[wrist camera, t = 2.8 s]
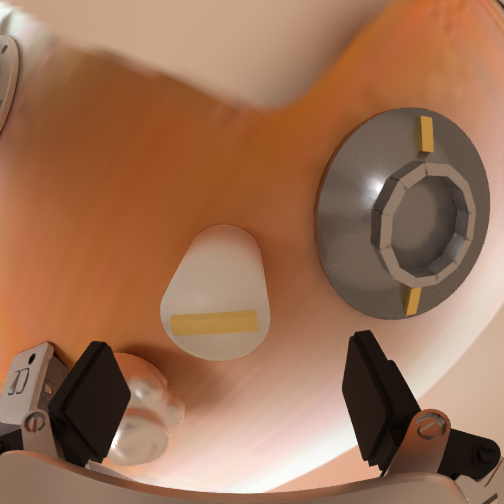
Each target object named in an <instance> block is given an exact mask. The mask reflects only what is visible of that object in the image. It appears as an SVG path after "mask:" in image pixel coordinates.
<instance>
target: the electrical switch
mask: <svg viewBox="0 0 504 504" xmlns="http://www.w3.org/2000/svg"><path fill="white" fill-rule="evenodd" d="M53 352H54V346H52V345H51V344H49V343H48V342H46V343H43V344H41V345H38V346H36V347H33V348H31V349H29V350H26V351H24V352H21V353H19V354H17V355H15V357H14V359H13V361H12V364H11V367H10V369H9V372H8V375H7V379H6V382H5V385H4V388H3V392H2V395H1V399H0V421H1V422H2V423H9V424H17V425H19V426H20V427H21V423H22V420H23V418H24V416H25V415H26V414H27V413H28V412H30V411H32V410H35V409H42V410H44V411H45V412H46V413H47V414H48V412H49V410H48V408H47V406H48V404H49V403H50V401H51V400H52V398H53V397H54V395H55V394H56V392H57V391H58V389H59V387H60V386H61V384H62V383H63V382H64V380H65V379H66V377H67V373H68V369H69V368H68V367H67V366H65V365H64V364H63V363H61V362H60V361H59V360H58V358H56V357H55V356H54V355H53ZM51 383H53V384H54V385H53V384H51ZM50 387H51V394H50V393H49V390H50ZM48 398H49V399H48Z"/></svg>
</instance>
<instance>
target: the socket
mask: <svg viewBox="0 0 504 504" xmlns="http://www.w3.org/2000/svg"><path fill="white" fill-rule="evenodd" d="M489 214H490V193H489V185H488V180H487V176H486V172H485V169H484V166H483V163H482V160H481V158H480V156H479V154H478V152H477V150H476V148H475V146H474V145H473V143H472V142H471V140H470V139H469V138H468V136H467V135H466V134H465V133H464V132H463V131H462V130H461V129H460V128H459V127H458V126H457V125H456V124H455V123H453V122H452V121H450V120H449V119H447V118H446V117H444V116H442V115H440V114H438V113H436V112H433V111H430V110H426V109H422V108H400V109H394V110H389V111H386V112H382V113H379V114H377V115H375V116H373V117H370V118H368V119H367V120H365V121H364V122H362V123H361V124H359V125H358V126H356V127H355V128H354V129H353V130H352V131H351V132H350V133H349V134H348V135H347V136H346V137H345V138H344V139H343V140H342V142H341V143H340V144H339V146H338V147H337V148H336V149H335V151H334V153H333V155H332V156H331V158H330V160H329V161H328V163H327V165H326V168H325V170H324V172H323V175H322V177H321V180H320V184H319V187H318V191H317V195H316V201H315V207H314V224H313V225H314V238H315V244H316V249H317V253H318V256H319V259H320V262H321V265H322V268H323V269H324V271H325V273H326V275H327V277H328V279H329V281H330V282H331V284H332V286H333V287H334V288H335V290H336V291H337V293H338V294H339V295H340V296H341V297H342V298H343V299H344V300H345V301H346V302H347V303H348V304H349V305H350V306H352V307H353V308H355V309H356V310H358V311H360V312H362V313H363V314H365V315H368V316H371V317H374V318H379V319H386V320H398V319H405V318H410V317H414V316H417V315H420V314H422V313H424V312H427V311H429V310H431V309H432V308H434V307H436V306H437V305H439V304H440V303H442V302H443V301H444V300H446V299H447V298H448V297H449V296H450V295H451V294H452V293H454V292H455V291H456V289H457V288H458V287H459V286H460V285H461V284H462V283H463V281H464V280H465V279H466V277H467V276H468V275H469V273H470V271H471V270H472V268H473V266H474V265H475V263H476V261H477V259H478V257H479V254H480V252H481V249H482V247H483V244H484V241H485V237H486V233H487V229H488V223H489Z"/></svg>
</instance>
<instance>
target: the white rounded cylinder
mask: <svg viewBox="0 0 504 504" xmlns="http://www.w3.org/2000/svg"><path fill="white" fill-rule="evenodd" d="M160 317H161V322H162V325H163V328H164V330H165V332H166V333H167V335H168V336H169V338H170V339H171V340H172V341H173V342H174V343H175V344H176V345H177V346H178V347H179V348H181V349H182V350H183V351H185V352H187V353H189V354H190V355H193V356H195V357H198V358H201V359H205V360H211V361H228V360H233V359H237V358H240V357H243V356H245V355H247V354H249V353H250V352H252V351H253V350H255V349H256V348H257V347H258V346H259V345H260V344H261V343H262V342H263V340H264V339H265V337H266V335H267V333H268V330H269V327H270V318H271V316H270V309H269V302H268V295H267V288H266V281H265V275H264V268H263V261H262V255H261V250H260V247H259V245H258V243H257V242H256V240H255V239H254V238H253V237H252V236H251V235H250V234H249V233H248V232H247V231H245V230H244V229H242V228H240V227H237V226H234V225H228V224H219V225H214V226H211V227H208V228H206V229H204V230H203V231H201V232H200V233H199V234H198V235H197V236H196V237H195V238H194V239H193V241H192V242H191V244H190V246H189V248H188V250H187V252H186V254H185V255H184V257H183V259H182V261H181V263H180V265H179V267H178V269H177V270H176V272H175V274H174V276H173V278H172V280H171V282H170V284H169V286H168V288H167V290H166V292H165V294H164V296H163V298H162V301H161V306H160Z"/></svg>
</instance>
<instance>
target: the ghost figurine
mask: <svg viewBox="0 0 504 504" xmlns="http://www.w3.org/2000/svg"><path fill="white" fill-rule="evenodd" d="M113 354H114V356H115V359H116V361H117V363H118V365H119V368H120V370H121V372H122V374H123V376H124V379H125V381H126V383H127V385H128V387H129V389H130V391H131V398H130V401H129V403H128V406H127V408H126V410H125V413H124V415H123V418H122V420H121V422H120V425H119V427H118V430H117V432H116V435H115V437H114V440H113V442H112V445H111V447H110V450H109V453H108V455H107V457H108V459H109V460H111V461H112V462H113V463H115V464H117V465H120V466H132V465H137V464H143V463H148V462H151V461H154V460H156V459H158V458H159V457H161V456H162V455H163V454H164V452H165V451H166V449H167V448H168V445H169V442H170V434H171V433H172V431H173V428H174V426H176V425H178V424H180V423H181V422H182V421H183V419H184V417H185V412H186V409H185V404H184V402H183V401H182V399H181V398H179V397H178V396H176V395H175V394H174V393H173V391H172V390H171V389H169V388H168V387H167V380H166V378H165V377H164V375H163V374H162V373H161V372H160V371H159V370H158V369H157V368H156V367H155V366H154V365H152V364H151V363H149V362H148V361H146V360H144V359H142V358H140V357H138V356H135V355H131V354H127V353H113Z"/></svg>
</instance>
